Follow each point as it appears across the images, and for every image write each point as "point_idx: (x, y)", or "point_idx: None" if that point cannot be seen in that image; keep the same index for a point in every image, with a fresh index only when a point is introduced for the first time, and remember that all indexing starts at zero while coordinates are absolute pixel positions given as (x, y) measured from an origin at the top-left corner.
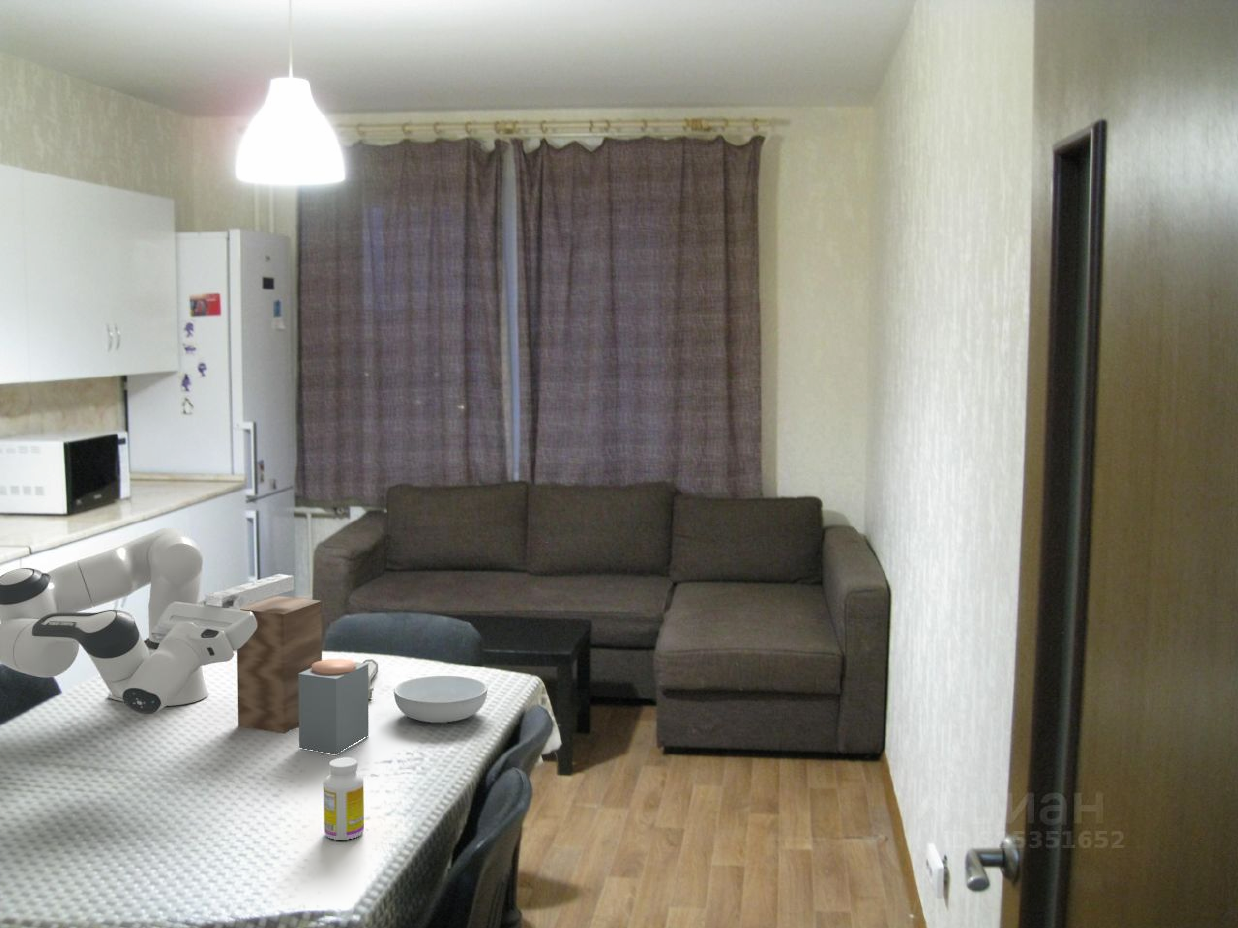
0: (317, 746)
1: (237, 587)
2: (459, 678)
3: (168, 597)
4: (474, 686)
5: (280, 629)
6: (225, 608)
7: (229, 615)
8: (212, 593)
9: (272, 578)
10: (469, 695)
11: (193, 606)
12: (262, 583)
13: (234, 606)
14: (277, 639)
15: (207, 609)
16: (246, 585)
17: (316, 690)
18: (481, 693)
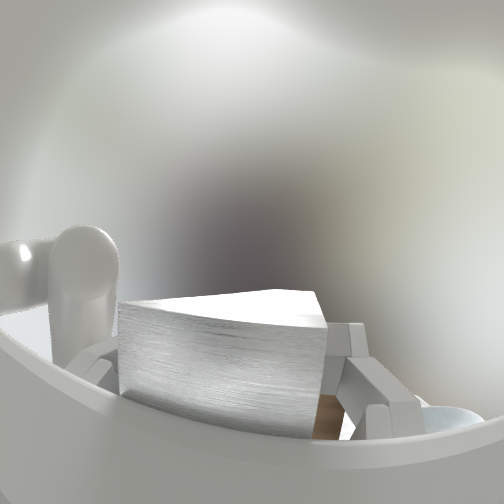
0: None
1: (252, 295)
2: (422, 409)
3: (67, 322)
4: (440, 413)
5: (332, 417)
6: (377, 445)
7: (491, 501)
8: (168, 300)
9: (287, 291)
10: (434, 422)
11: (33, 381)
12: (299, 294)
13: (401, 400)
14: (319, 439)
15: (148, 461)
16: (267, 294)
17: None
18: (453, 417)
